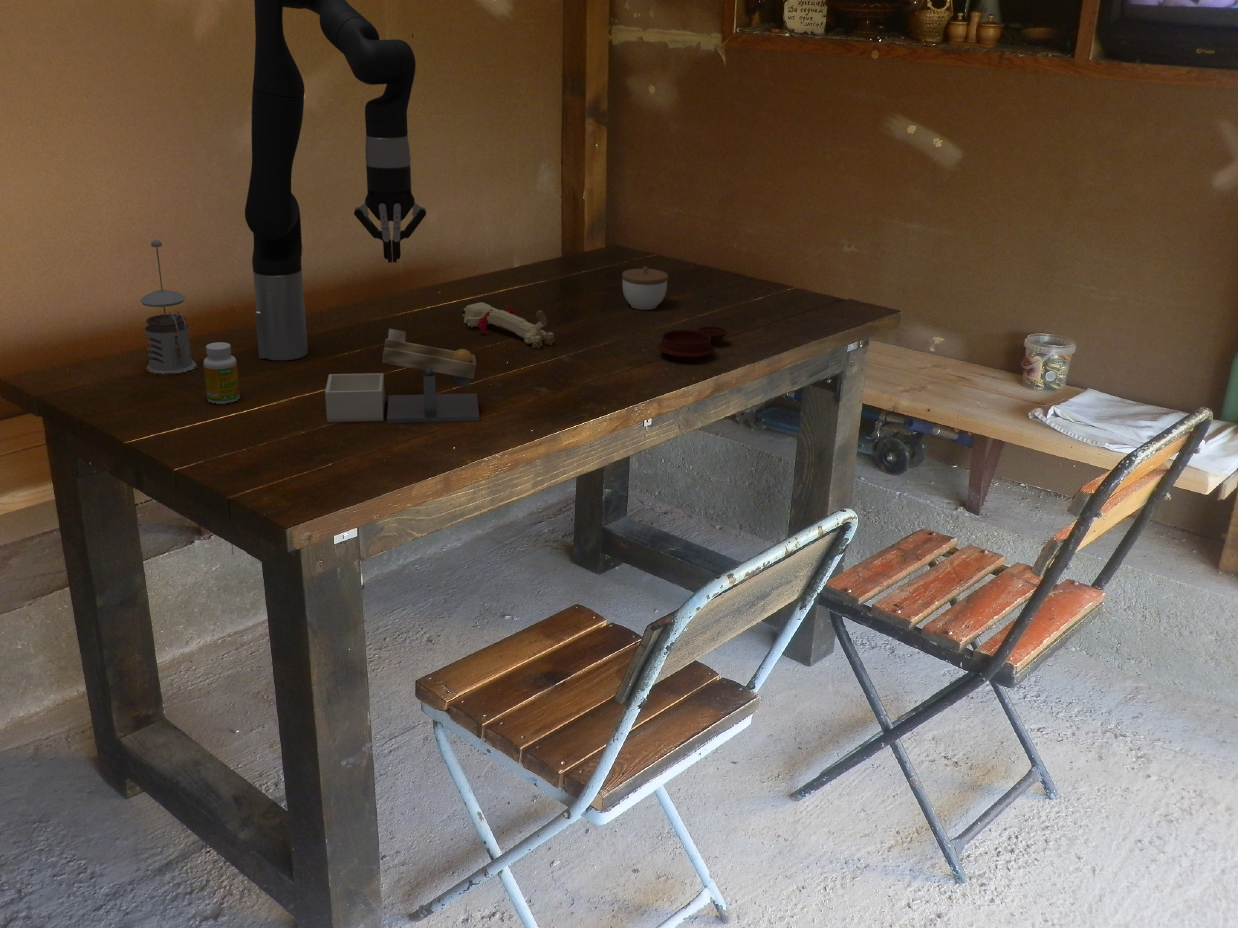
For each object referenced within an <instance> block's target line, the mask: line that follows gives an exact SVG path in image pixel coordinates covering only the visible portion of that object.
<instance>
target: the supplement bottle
mask: <svg viewBox="0 0 1238 928" xmlns="http://www.w3.org/2000/svg"><path fill="white" fill-rule="evenodd" d="M205 351H206V355H207V357H205V358H204V360H203V373H204V378H205V379H204V380H205V382H204V383H205V388H206V390H205V391H206V398H207V399H206V400H207V401H208V402H209V403H210V402H212V403H211V404H214V403H216V404H215V405H227V404H226V403H230V402H233V403H235V402H234V401H236V402H237V401H239V400H240V398H241V397H240V396H241V395H240V394H241V393H240V385H239V384H240V383H239V372H238V363H237V358H236V357H235V356H233V355H231V354H232V347H231V344H230V343H228V342H212V343H209V344H208V343H207V345H206V346H205ZM238 399H239V400H238ZM230 404H231V403H230Z"/></svg>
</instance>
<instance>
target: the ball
mask: <svg viewBox="0 0 1238 928" xmlns="http://www.w3.org/2000/svg"><path fill="white" fill-rule="evenodd" d="M455 351H456V352H455V353H454V354H453V357H452V360H457V361H462V362H468V363H472V355H471V354H472V353H471V352H470V351H469V350H468V349H465V348H460V349H458V350H455Z"/></svg>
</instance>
